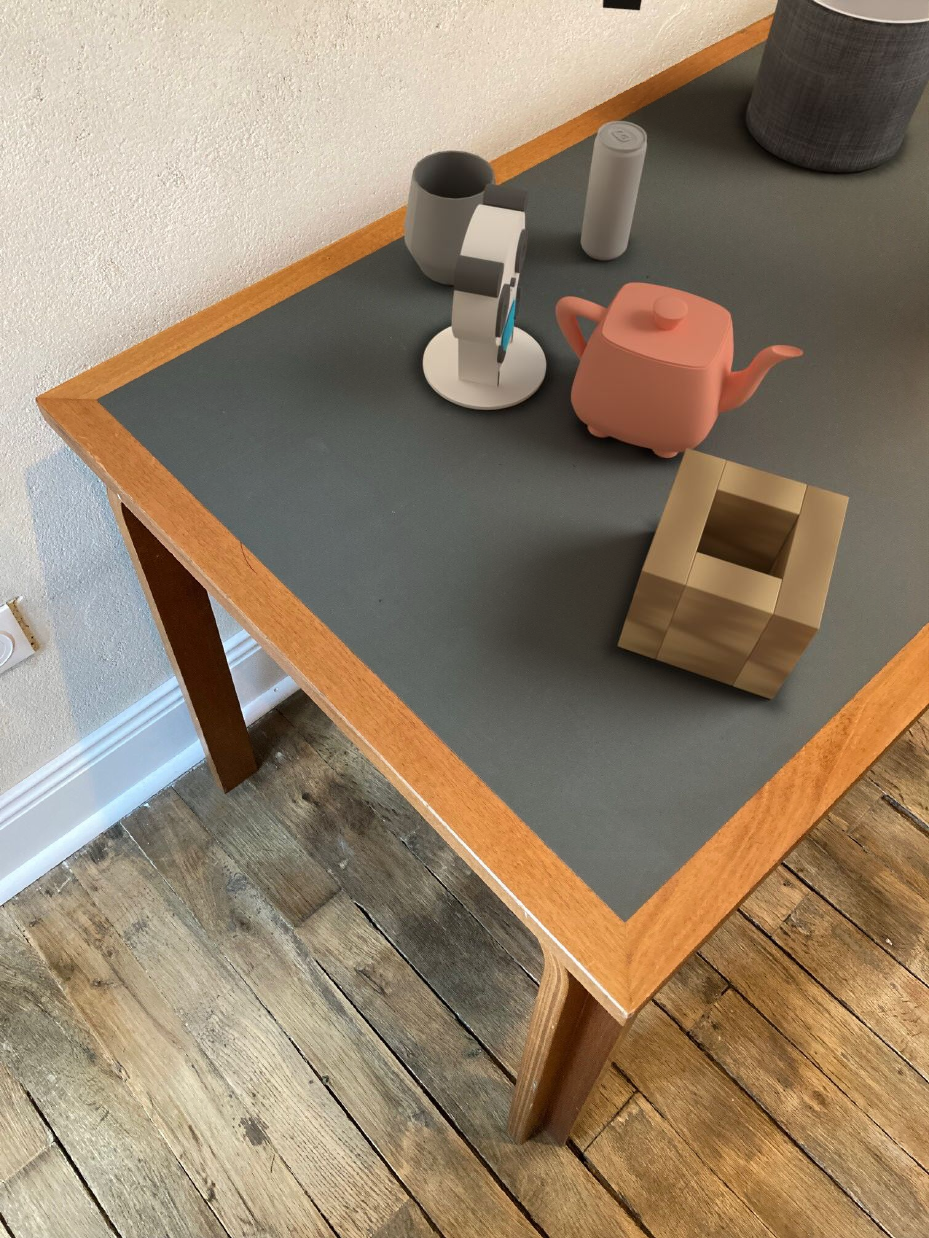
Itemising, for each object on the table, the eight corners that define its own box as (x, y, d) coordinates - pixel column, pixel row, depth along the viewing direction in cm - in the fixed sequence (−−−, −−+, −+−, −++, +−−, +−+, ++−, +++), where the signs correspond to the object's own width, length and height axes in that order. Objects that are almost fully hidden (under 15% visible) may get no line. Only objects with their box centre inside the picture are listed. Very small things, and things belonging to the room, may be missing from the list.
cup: (466, 227, 97) (468, 133, 89) (517, 277, 93) (525, 184, 85) (387, 257, 95) (382, 164, 86) (437, 311, 90) (437, 218, 82)
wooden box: (802, 576, 75) (849, 496, 66) (772, 700, 69) (819, 629, 60) (658, 530, 77) (686, 447, 69) (617, 646, 71) (641, 570, 63)
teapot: (522, 428, 83) (534, 319, 72) (567, 343, 89) (583, 231, 78) (744, 500, 79) (790, 395, 69) (775, 406, 85) (821, 297, 75)
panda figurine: (530, 425, 83) (547, 284, 70) (406, 401, 84) (401, 257, 71) (556, 335, 89) (576, 190, 76) (440, 313, 90) (441, 167, 78)
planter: (845, 76, 115) (898, -72, 102) (931, 157, 106) (1002, 7, 93) (717, 101, 111) (755, -49, 98) (795, 187, 103) (849, 35, 89)
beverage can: (597, 269, 94) (617, 156, 84) (569, 242, 97) (585, 129, 86) (635, 253, 96) (659, 140, 86) (607, 227, 98) (627, 114, 88)
